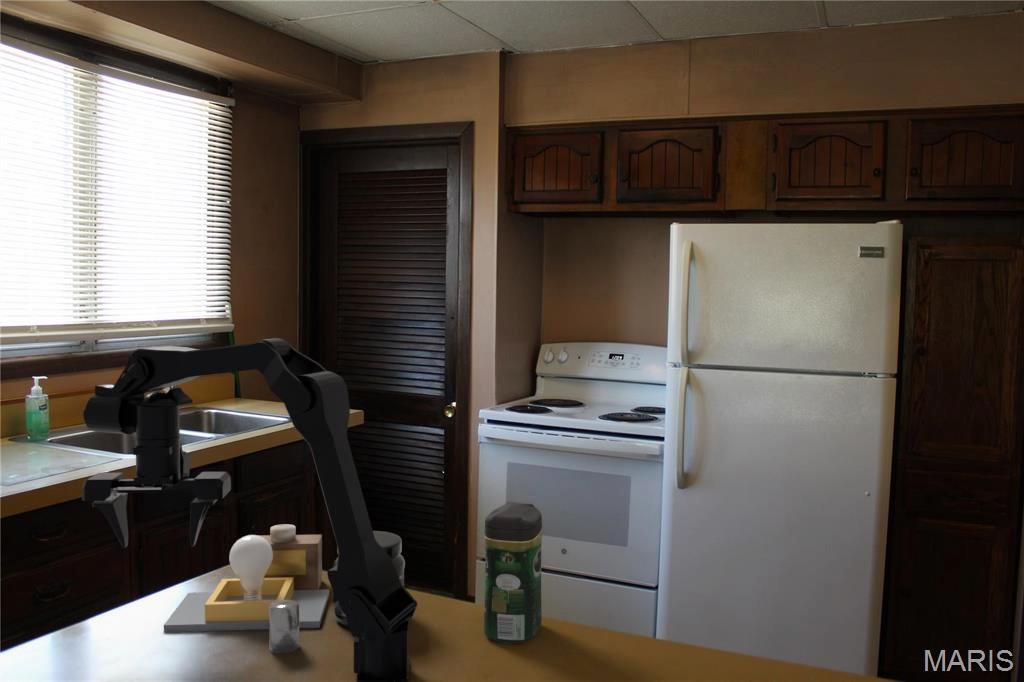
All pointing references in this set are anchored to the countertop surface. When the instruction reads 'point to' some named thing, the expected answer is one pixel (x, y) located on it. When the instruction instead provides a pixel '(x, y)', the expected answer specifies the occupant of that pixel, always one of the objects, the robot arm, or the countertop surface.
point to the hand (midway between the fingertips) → (159, 546)
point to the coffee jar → (513, 573)
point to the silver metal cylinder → (283, 626)
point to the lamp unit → (295, 557)
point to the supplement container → (393, 549)
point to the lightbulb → (251, 564)
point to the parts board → (244, 607)
